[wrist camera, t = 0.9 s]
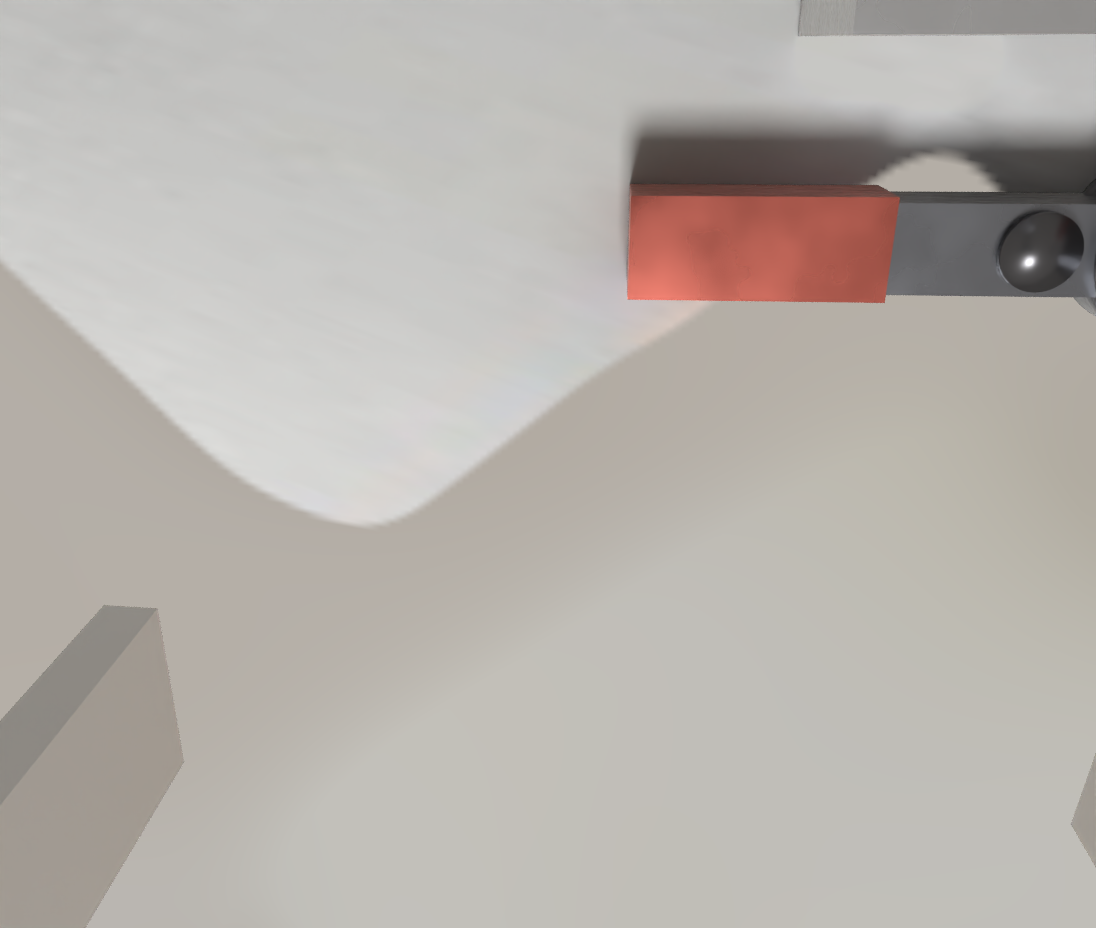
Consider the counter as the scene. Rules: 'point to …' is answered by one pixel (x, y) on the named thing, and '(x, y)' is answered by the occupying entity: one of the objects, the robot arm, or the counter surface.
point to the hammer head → (946, 17)
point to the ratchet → (857, 243)
